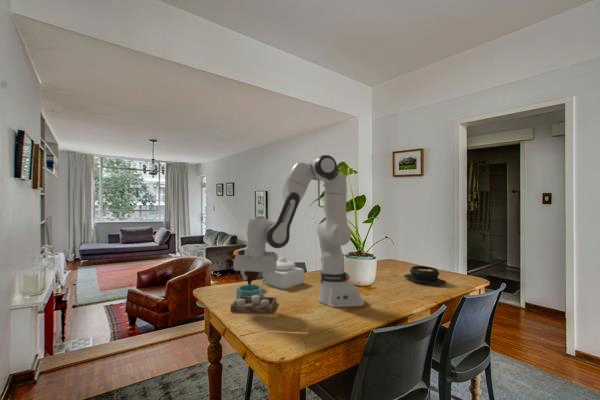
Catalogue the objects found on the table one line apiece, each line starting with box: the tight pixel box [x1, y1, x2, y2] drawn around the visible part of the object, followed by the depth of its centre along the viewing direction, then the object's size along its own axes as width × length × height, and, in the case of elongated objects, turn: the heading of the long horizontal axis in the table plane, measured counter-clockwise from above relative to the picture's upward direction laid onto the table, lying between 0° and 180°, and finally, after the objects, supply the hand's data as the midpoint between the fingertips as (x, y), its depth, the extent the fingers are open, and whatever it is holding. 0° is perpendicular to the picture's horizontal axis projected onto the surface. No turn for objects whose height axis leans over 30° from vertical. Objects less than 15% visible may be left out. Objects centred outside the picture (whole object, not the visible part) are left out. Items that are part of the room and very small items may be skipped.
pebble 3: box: [261, 299, 269, 306], centre depth 128 cm, size 4×4×4 cm
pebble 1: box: [236, 298, 245, 305], centre depth 129 cm, size 4×4×4 cm
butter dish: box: [262, 256, 305, 290], centre depth 172 cm, size 18×18×16 cm
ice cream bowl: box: [239, 271, 260, 285], centre depth 161 cm, size 11×11×15 cm
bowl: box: [236, 283, 263, 299], centre depth 146 cm, size 12×12×5 cm
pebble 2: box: [252, 295, 260, 306], centre depth 134 cm, size 4×4×4 cm
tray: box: [230, 296, 277, 314], centre depth 131 cm, size 18×13×3 cm
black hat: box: [403, 265, 447, 285], centre depth 178 cm, size 25×19×8 cm
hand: (254, 280), depth 134 cm, fingers open, 8 cm apart
